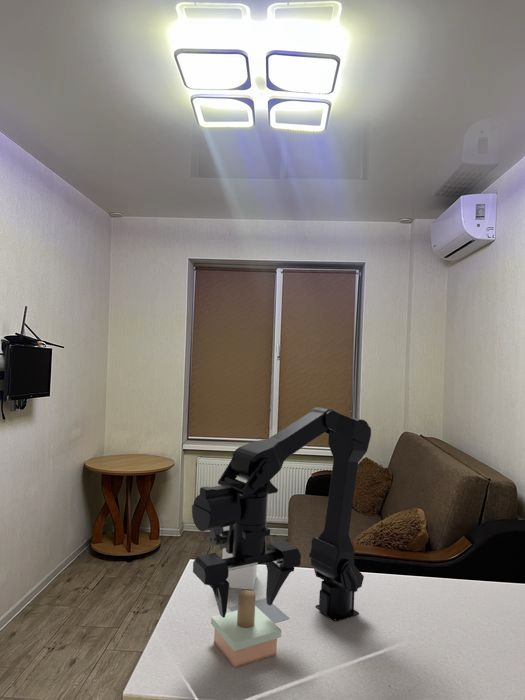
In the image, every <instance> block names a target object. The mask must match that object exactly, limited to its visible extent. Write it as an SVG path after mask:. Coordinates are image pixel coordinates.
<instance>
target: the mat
mask: <svg viewBox="0 0 525 700" xmlns="http://www.w3.org/2000/svg"><path fill="white" fill-rule="evenodd" d="M255 606H256V607H257V608H258V609H259V610H261V611H262V612H263V613H264V614H265V615H266V616H267V617H268V618H269V619H270V620H271V621H272V622H273V623H274V624H277V623H280V622H283V621H284V622H285V621H288V620H290V619H291V618H290V617H289V616H288V615H287V614H286V613H284V612H283V611H282V610H280V608H278V607H277V606H276V605H275V604H274V602H273V603H272V605H270V606H269V605H268V604H267V601H266V597H265V598H262V599H261V598H260V599H257V600H256V599H255ZM227 609H229V610H230V612H233V611H236V610H238V604H236V605H233V606H229V607H228V606H227Z"/></svg>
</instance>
